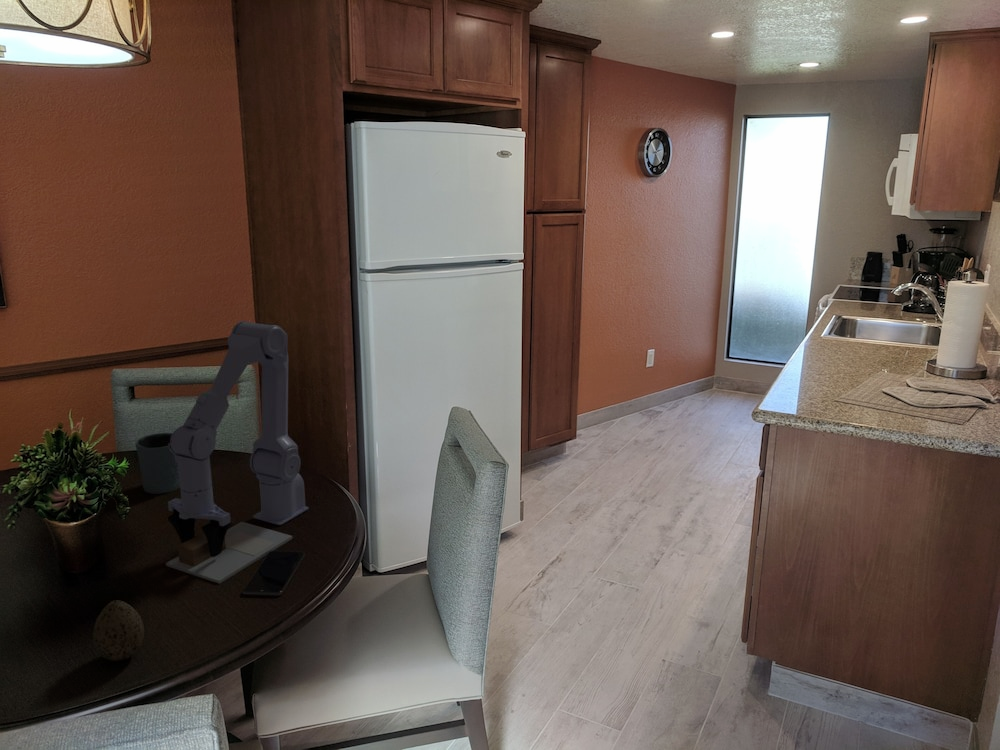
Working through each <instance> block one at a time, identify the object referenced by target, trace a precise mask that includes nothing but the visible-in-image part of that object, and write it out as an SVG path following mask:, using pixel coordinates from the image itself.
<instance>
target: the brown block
mask: <svg viewBox="0 0 1000 750" xmlns="http://www.w3.org/2000/svg"><path fill="white" fill-rule="evenodd" d="M225 549H226V545H225V538H224V542H223V546H222V551H223V550H225ZM177 551H178V556H179V562H181V563H184V564H187V565H190V566H193V567H195V566H197V565H199V564H200V563H202V562H204V561H206V560H207V559H209V558H211V557H212V556H211V555H210V551H209V545H208V541H207V538H206V535H205V533H204V532H203V531H202V532H201V533H200V534H197V535H195V537H193V538H191V539H189V540H188V541H186V542H184V543H182V542H181V544H178V545H177Z"/></svg>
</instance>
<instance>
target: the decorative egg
mask: <svg viewBox="0 0 1000 750" xmlns="http://www.w3.org/2000/svg"><path fill="white" fill-rule="evenodd" d="M144 637H145V626H144V622H143V619H142V618H141V615H140V614H139V613H138V611H137V610H136V609H135V608H134V607H133V606H132V605H130V604H128V603H127V602H125V601H122V600H121V599H120V600H119V599H116V600H115V599H114V600H112V601H110V602H109V603H108V604H107V605H106V606H105V607H104V608H103V609H102V610H101V612H100V613H99V614H98V617H97V618H96V620H95V624H94V626H93V631H92V642H93V646H94V648H95V650H96V651H97V653H98V654H99V656H101V657H102V658H103V659H106V660H108V661H112V662H121V661H124V660H127V659H129V658H131V657H132V656H134V654H135V653H137V652H138V651H139V649H140V648H141V646H142V644H143V640H144Z"/></svg>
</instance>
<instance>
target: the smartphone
mask: <svg viewBox="0 0 1000 750" xmlns="http://www.w3.org/2000/svg"><path fill="white" fill-rule="evenodd" d="M305 556H306V554H305V552H304V551H290V550H289V551H288V550H287V551H285V550H273V551H271V552H269V553H268V554H267V555H265V557H264V559H263V560H262V562H261V564H260V565H259V567H258V568H257V569H256V571H255V572H254V574H252V577H251V578H250V579H249V581H248V582H247V584H245V587H244V588H243V589H242V595H243V596H255V597H257V596H258V597H259V596H263V597H279V596H281V595H282V594H283V593H284V591H285V589H286V588H287V586H288V584H289V582H290V581H291V579H292V577H293V576H294V574H295V572H296V570H297V569H298V568H299V566H300V564H301V562H302V561H301V560H303V559H304V557H305Z"/></svg>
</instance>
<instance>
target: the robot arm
mask: <svg viewBox="0 0 1000 750" xmlns="http://www.w3.org/2000/svg"><path fill="white" fill-rule="evenodd" d="M288 339H289V337H288V333H287V332H286V331H285V330H284V329H283V328H282V327H280V326H279V325H276V324H272V325H271V324H263V323H257V322H256V323H255V322H250V321H245V320H241V321H239V322H237V323H236V324H235V325H234V326H233V328H232V329H231V332H230V334H229V335H228V337H227V346H228V350H227V352H226V355H225V356H224V358H223V361H222V364H221V365H220V367H219V369H218V372H217V374H216V376H215V379H214V381H213V383H212V385H211V387H210V389H207V390H206V391H205V390H204V391H203V392H201V393H200V395H198V396H197V398H196V400H195V403H194V405H193V407H192V409H191V410H190V413H189V414H188V416H187V418H186V419H185V421H184V423H183V425H181V426H179V427H178V428H176V429H175V430H174V431H173V432H172V435H171V438H170V443H169V444H168V447H169V450H170V451H171V452H172V453H173V454H174V456H175V462H177V463H178V472H179V482H180V488H179V491H180V498H176V497H175V498H174V499H171V500H169V501H167V505H168V506H167V507H168V511H170V512H172V514H171V515H169V516H168V517H167V520H168V522H169V523H170V524H171V525H172V527H173V528H174V529H175V531H176V533H177V534H178V537H179V539H180V542H181V544H182V543H184V542H186V541H188V540H189V539H191V538H193V537H195V536H196V535H195V523H196V519H198V520H199V519H200V520H201V519H202V520H206V521H207V520H208V521H209V523H206V524H204V525H203V526H201V530H202V533H203V532H204V533H205V535H206V538H207V541H208V545H209V551H210V555H211V556H212V557H215V556H217V555H219V554H220V553H221V552H222V546H223V542H224V538H225V535H226V532H227V530H228V529H229V528H230V526H231V525H232V518H231V513H229V512H227V511H224V510H223V509H222V508H221V507H220V506H217V504H216V503H215V502H214V493H213V481H212V471H211V457H210V455H212V452H213V451H215V448H216V443H217V442H216V441H217V439H216V438H217V435H218V434H217V432H218V431H217V429H218V428H219V426H220V424H221V422H222V421H223V418H224V416H225V414H226V413H227V411H228V409H229V407H230V404H229V400H228V396H229V394H230V393H231V392H232V390H233V388H234V387H235V385H236V384H237V382H238V381H239V379H240V378H241V377H242V375H243V373H244V372H245V370H246V369H247V367H248V366H249V365H252V364H256V363H259V364H260V366H261V436H260V437H259V438H258V439H256V440H255V441H254V442H253V443H252V451H251V452H252V453H251V456H250V458H249V468H250V469H251V471H252V472H253V473H254V474H256V479H258V482H259V494H260V495H259V496H260V497H259V498H260V506H261V507H260V508H261V509H260V511H259V512H257V513H255V514H254V515H253V516H252V519H255V520H258V521H259V520H260V521H262V522H266V523H269V524H273V525H276V526H282V525H284V524H285V523H287V522H288V521H290V520H293V519H295V518H296V517H298V516H299V515H301V514H302V513H304V512H306V511H308V510H309V506H306V497H305V496H306V494H305V492H306V491H305V482H304V479H303V477H302V476H301V474H300V473H299V472H300V470H301V458H300V455H299V446H298V445H297V443H296V442H295V441H294V440H293V439H292V437H290V436H289V434H288V428H289V424H288V423H289V353H288V345H289V344H288V341H289V340H288Z"/></svg>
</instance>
